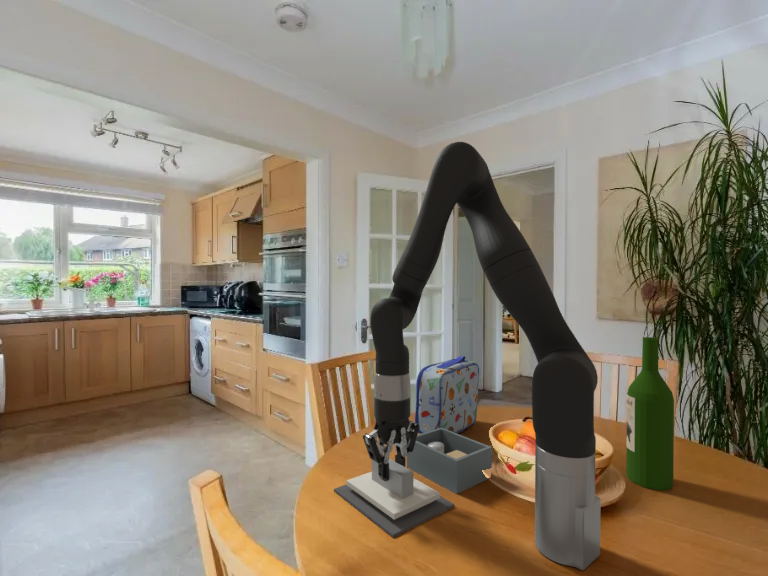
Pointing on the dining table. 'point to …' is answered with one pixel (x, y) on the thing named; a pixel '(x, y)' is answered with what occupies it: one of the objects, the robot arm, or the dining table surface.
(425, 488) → the lid
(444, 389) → the lunch box
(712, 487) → the dining table surface
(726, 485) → the dining table surface
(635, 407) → the wine bottle
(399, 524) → the mat
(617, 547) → the dining table surface
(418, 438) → the storage box
